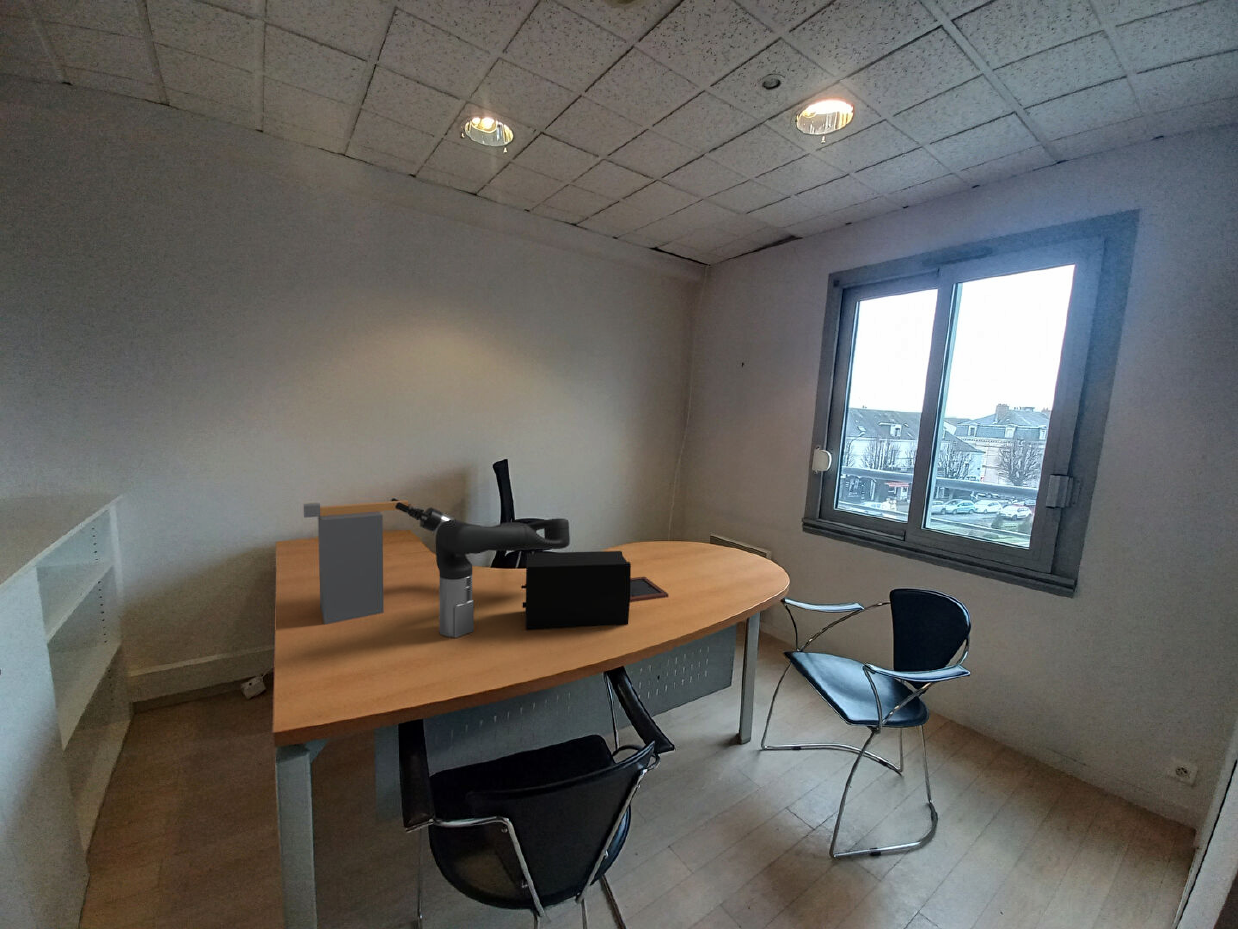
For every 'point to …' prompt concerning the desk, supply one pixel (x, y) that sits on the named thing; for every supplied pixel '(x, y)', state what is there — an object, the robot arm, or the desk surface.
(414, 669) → the desk surface
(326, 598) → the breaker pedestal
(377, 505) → the lever bar
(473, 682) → the desk surface
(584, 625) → the uninterruptible power supply
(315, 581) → the desk surface
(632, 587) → the picture frame
